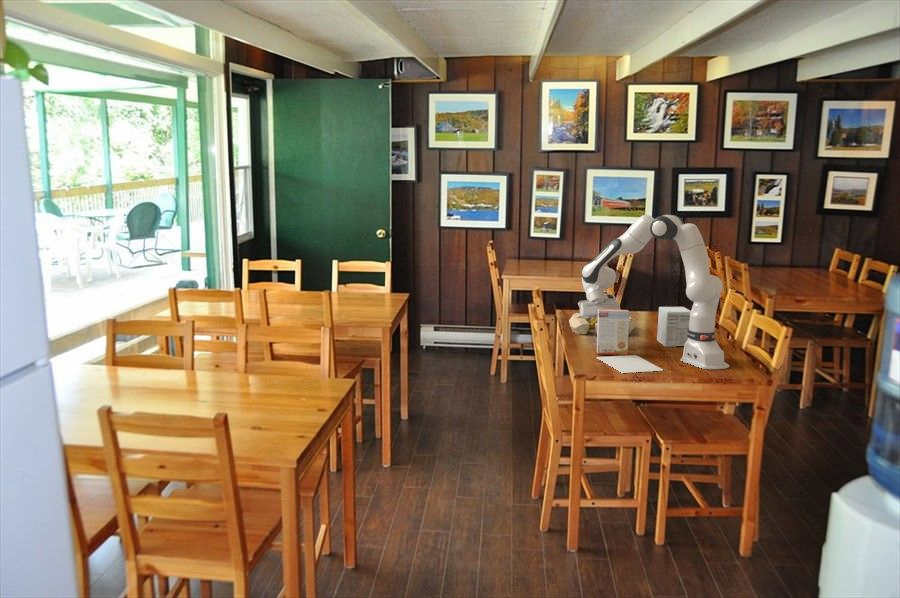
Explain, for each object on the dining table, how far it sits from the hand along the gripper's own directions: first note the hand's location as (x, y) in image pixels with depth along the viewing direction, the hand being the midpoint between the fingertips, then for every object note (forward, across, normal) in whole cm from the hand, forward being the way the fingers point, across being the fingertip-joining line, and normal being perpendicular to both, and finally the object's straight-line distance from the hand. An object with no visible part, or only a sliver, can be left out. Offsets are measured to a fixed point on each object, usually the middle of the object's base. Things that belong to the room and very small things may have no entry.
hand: (604, 324), depth 367 cm
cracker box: (+15, 0, +2) cm, 16 cm away
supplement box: (+6, +40, +12) cm, 42 cm away
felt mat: (+28, 0, -10) cm, 30 cm away
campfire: (-17, +16, +35) cm, 42 cm away
